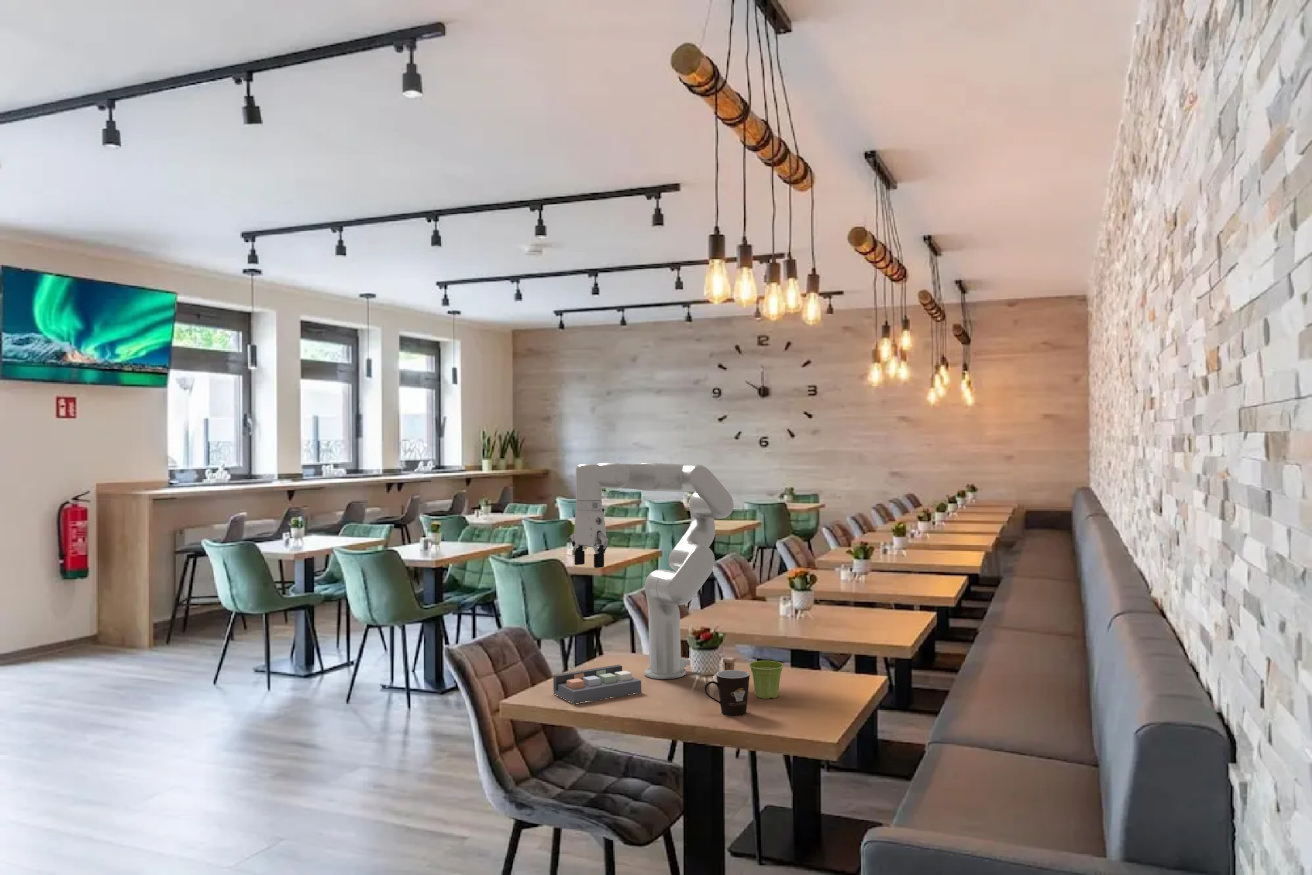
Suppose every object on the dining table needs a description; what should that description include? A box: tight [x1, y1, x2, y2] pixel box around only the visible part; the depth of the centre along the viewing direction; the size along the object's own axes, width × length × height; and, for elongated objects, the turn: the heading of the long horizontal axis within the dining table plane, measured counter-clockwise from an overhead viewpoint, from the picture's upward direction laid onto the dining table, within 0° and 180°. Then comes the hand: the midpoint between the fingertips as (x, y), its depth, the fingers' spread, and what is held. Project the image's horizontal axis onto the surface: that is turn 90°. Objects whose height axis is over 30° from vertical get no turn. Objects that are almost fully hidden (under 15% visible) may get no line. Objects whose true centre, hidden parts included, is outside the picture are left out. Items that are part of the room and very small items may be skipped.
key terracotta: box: [567, 678, 584, 689], centre depth 261 cm, size 4×4×2 cm
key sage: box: [599, 673, 616, 684], centre depth 266 cm, size 4×4×2 cm
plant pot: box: [748, 660, 784, 700], centre depth 259 cm, size 9×9×9 cm
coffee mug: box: [704, 669, 751, 717], centre depth 244 cm, size 12×9×10 cm
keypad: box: [552, 664, 642, 705], centre depth 266 cm, size 21×13×6 cm, turn 121°
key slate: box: [583, 676, 600, 686], centre depth 263 cm, size 4×4×2 cm
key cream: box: [614, 670, 633, 681], centre depth 268 cm, size 4×4×2 cm
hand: (589, 566), depth 272 cm, fingers open, 9 cm apart
